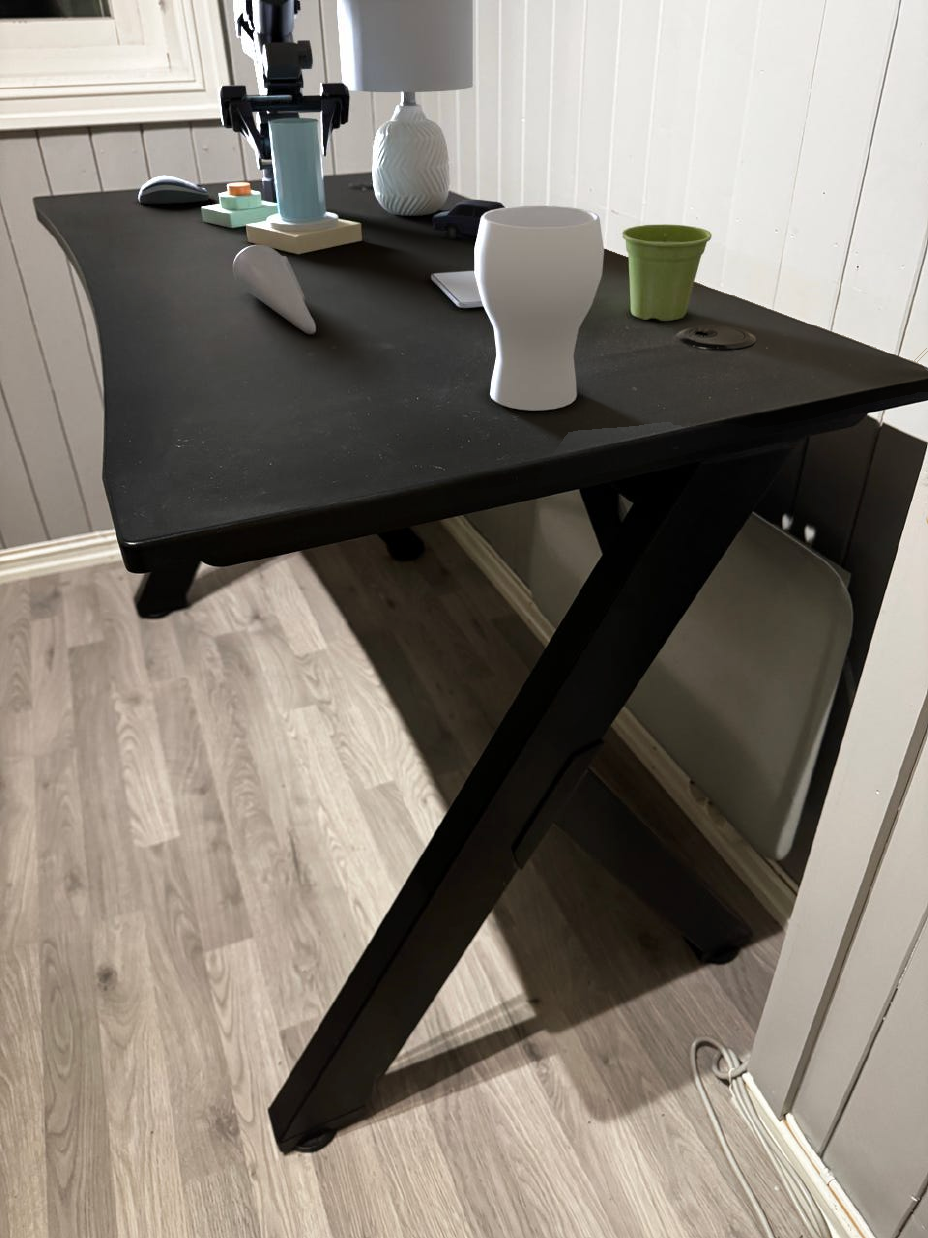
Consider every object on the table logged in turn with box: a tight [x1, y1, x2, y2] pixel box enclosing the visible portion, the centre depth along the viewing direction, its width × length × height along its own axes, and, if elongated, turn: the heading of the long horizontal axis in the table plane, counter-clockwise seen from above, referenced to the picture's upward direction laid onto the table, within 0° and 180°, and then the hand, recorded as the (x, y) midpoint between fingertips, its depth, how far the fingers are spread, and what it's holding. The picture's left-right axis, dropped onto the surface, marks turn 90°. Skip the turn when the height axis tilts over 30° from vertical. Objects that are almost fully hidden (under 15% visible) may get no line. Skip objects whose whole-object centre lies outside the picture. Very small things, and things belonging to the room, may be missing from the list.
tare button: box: [226, 182, 252, 196], centre depth 145 cm, size 4×4×2 cm
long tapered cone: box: [232, 244, 317, 335], centre depth 102 cm, size 6×6×19 cm
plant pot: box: [621, 223, 713, 322], centre depth 99 cm, size 9×9×9 cm
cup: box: [474, 204, 605, 412], centre depth 77 cm, size 11×11×15 cm
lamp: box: [336, 0, 474, 217], centre depth 142 cm, size 20×20×37 cm
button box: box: [201, 189, 278, 229], centre depth 146 cm, size 10×8×4 cm
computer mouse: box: [138, 175, 210, 205], centre depth 161 cm, size 7×12×4 cm, turn 102°
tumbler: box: [268, 117, 327, 222], centre depth 129 cm, size 7×7×12 cm
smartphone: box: [430, 269, 484, 309], centre depth 110 cm, size 7×1×15 cm
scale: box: [245, 211, 363, 255], centre depth 133 cm, size 12×12×3 cm
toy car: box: [431, 199, 507, 240], centre depth 134 cm, size 6×15×5 cm, turn 60°
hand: (293, 155), depth 132 cm, fingers open, 9 cm apart
